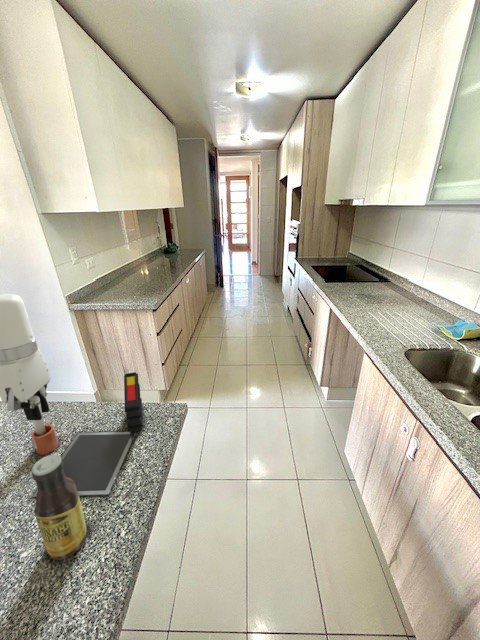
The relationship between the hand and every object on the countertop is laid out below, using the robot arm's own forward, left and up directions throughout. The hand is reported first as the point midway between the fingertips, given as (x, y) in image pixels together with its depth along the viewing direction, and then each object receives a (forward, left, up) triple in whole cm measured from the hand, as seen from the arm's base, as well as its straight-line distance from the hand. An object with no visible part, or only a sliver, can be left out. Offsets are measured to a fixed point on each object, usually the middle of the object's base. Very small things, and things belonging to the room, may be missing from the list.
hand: (38, 415), depth 65 cm
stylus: (-1, 0, -8) cm, 8 cm away
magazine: (+20, +9, -11) cm, 24 cm away
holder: (0, 0, -11) cm, 11 cm away
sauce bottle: (+18, -22, -11) cm, 30 cm away
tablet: (+13, -5, -11) cm, 18 cm away
